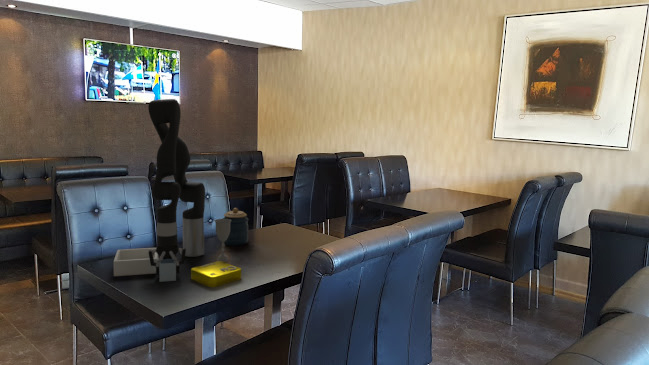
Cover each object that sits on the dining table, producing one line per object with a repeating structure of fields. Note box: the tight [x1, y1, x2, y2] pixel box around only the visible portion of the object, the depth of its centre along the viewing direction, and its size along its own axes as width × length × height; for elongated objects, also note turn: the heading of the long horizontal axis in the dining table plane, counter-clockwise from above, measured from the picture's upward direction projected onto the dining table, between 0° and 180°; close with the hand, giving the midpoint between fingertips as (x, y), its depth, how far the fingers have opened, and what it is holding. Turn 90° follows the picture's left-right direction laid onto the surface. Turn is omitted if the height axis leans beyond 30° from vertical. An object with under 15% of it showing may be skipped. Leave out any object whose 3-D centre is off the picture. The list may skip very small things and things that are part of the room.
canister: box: [222, 207, 249, 246], centre depth 234 cm, size 13×13×18 cm
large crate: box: [112, 247, 159, 277], centre depth 192 cm, size 16×16×6 cm
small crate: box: [158, 259, 177, 283], centre depth 182 cm, size 6×8×7 cm
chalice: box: [214, 218, 231, 263], centre depth 205 cm, size 7×7×18 cm
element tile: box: [190, 260, 242, 288], centre depth 184 cm, size 15×15×5 cm
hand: (167, 274), depth 183 cm, fingers closed on small crate, 6 cm apart
